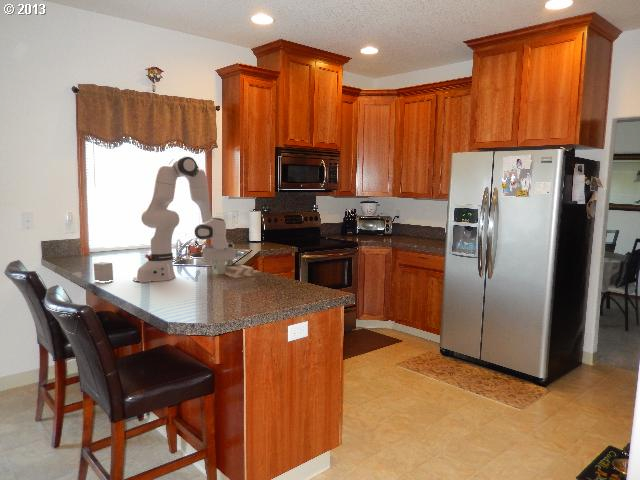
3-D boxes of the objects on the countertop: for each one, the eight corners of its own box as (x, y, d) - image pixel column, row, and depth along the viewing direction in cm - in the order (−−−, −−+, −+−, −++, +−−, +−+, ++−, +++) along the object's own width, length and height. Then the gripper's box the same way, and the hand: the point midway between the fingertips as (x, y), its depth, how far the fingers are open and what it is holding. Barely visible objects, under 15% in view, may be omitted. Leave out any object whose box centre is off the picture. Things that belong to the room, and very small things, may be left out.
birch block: (234, 278, 266) (234, 269, 266) (225, 275, 276) (225, 267, 275) (253, 276, 273) (253, 267, 273) (243, 273, 283) (243, 265, 282)
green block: (217, 274, 277) (217, 261, 276) (213, 273, 281) (213, 260, 280) (225, 273, 280) (225, 260, 280) (221, 272, 284) (221, 259, 283)
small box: (113, 282, 255) (112, 262, 254) (105, 283, 250) (104, 264, 249) (103, 280, 258) (102, 261, 257) (94, 282, 253) (93, 263, 252)
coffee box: (217, 265, 310) (216, 241, 308) (220, 263, 316) (219, 240, 315) (230, 265, 309) (230, 241, 308) (233, 264, 316) (233, 240, 314)
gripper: (205, 247, 270) (205, 270, 271) (236, 244, 283) (237, 267, 284) (200, 245, 275) (200, 269, 276) (231, 243, 288) (232, 265, 289)
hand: (219, 268), depth 280 cm, fingers open, 6 cm apart
